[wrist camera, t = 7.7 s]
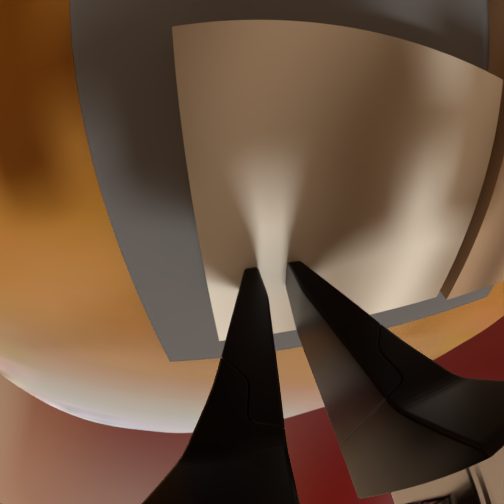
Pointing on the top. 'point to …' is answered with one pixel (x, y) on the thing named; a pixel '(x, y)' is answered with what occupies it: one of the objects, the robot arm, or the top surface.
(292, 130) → the beige flat square block
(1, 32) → the top surface
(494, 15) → the light brown plank
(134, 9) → the underlay
